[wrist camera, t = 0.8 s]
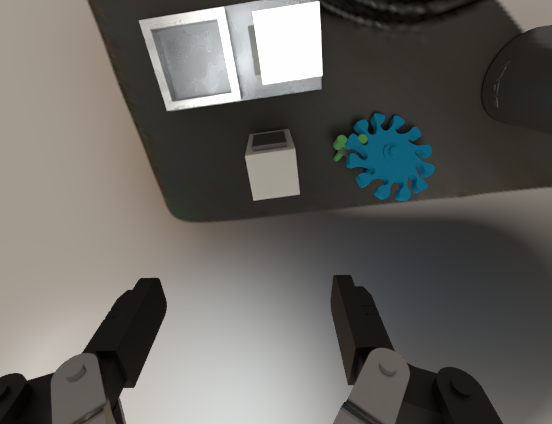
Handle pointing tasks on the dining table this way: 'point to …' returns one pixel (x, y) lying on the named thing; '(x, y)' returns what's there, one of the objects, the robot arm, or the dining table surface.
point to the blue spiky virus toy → (386, 156)
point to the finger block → (272, 165)
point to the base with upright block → (236, 52)
